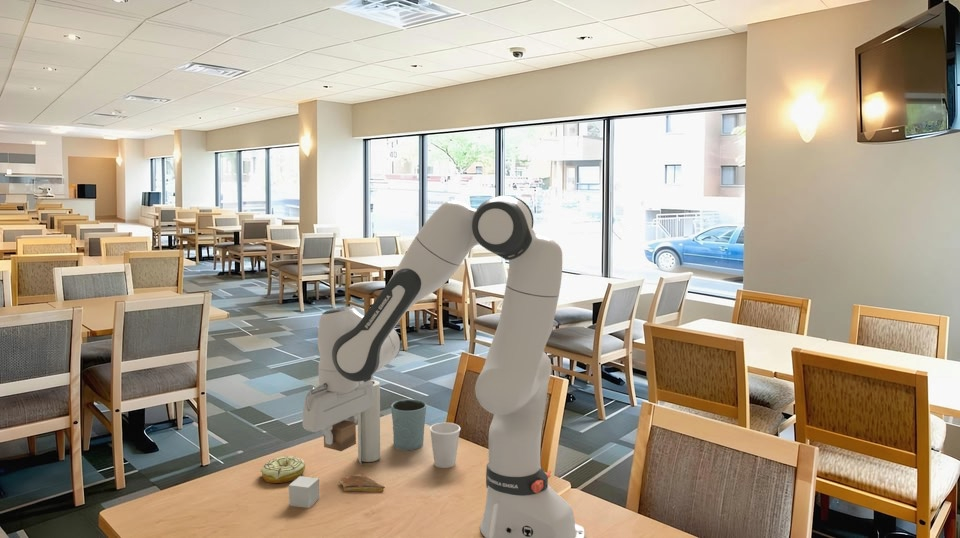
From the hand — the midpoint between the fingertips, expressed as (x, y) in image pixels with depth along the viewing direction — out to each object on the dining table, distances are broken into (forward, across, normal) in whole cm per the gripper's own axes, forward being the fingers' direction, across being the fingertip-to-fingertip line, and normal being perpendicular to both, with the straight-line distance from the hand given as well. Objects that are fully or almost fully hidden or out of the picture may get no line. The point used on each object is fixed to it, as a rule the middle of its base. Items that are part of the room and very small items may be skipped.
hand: (340, 438), depth 145 cm
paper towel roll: (+17, +26, +13) cm, 33 cm away
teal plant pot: (+17, +40, +9) cm, 44 cm away
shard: (+18, +13, +4) cm, 22 cm away
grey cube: (+17, -1, +10) cm, 20 cm away
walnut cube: (+2, 0, 0) cm, 2 cm away
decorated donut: (+17, +7, +25) cm, 31 cm away
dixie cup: (+17, +34, -7) cm, 38 cm away
